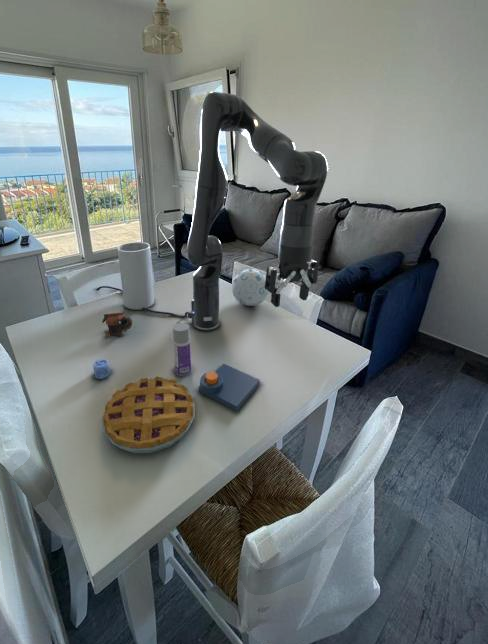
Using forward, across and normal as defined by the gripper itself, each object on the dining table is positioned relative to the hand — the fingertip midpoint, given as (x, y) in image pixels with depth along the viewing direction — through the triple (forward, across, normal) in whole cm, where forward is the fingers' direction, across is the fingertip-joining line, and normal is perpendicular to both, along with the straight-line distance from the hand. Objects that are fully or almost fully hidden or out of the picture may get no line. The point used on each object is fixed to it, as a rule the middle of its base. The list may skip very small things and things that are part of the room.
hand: (289, 302), depth 81 cm
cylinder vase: (+25, +27, -63) cm, 73 cm away
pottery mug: (+25, +38, -45) cm, 64 cm away
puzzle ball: (+25, -15, -43) cm, 52 cm away
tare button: (+21, +20, -4) cm, 29 cm away
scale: (+24, +15, -2) cm, 29 cm away
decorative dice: (+25, +46, -23) cm, 57 cm away
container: (+25, +24, -14) cm, 38 cm away
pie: (+25, +38, -1) cm, 45 cm away
